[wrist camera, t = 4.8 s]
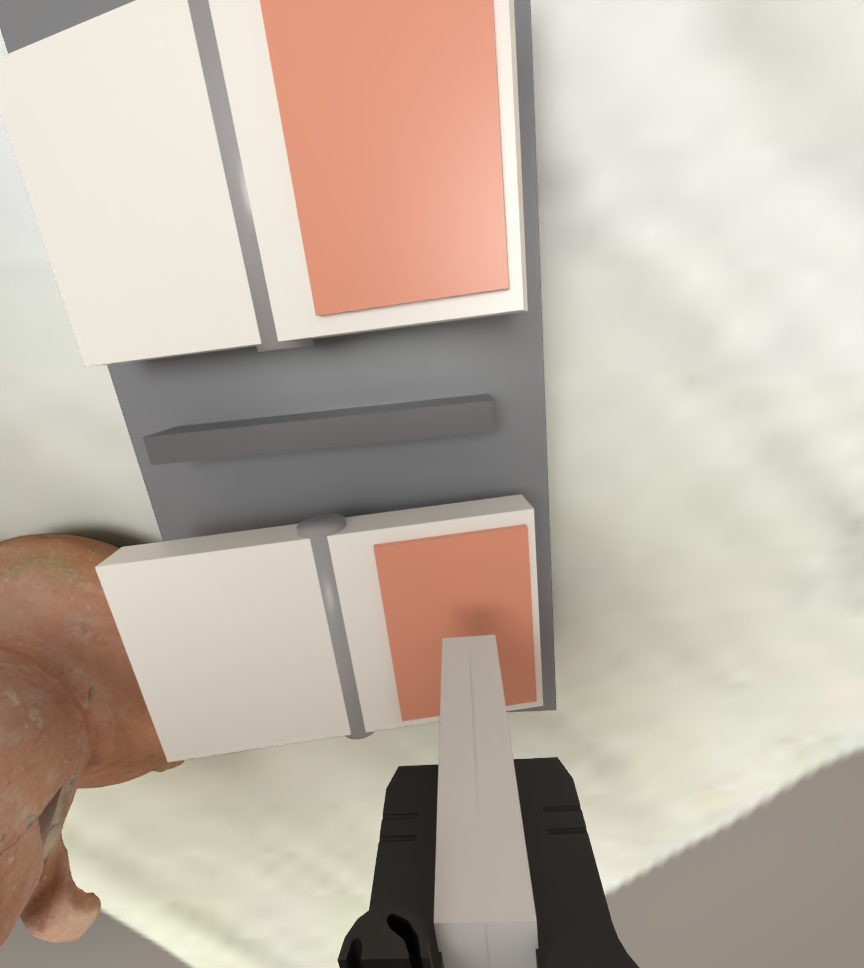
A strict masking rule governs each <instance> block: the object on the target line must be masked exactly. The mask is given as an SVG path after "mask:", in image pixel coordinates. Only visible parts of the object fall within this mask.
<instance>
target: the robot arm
mask: <svg viewBox="0 0 864 968" xmlns="http://www.w3.org/2000/svg"><path fill="white" fill-rule="evenodd" d="M338 963H339V967H340V968H639V967H638V966H637V964H636V963H635V962H634V961H633V960H632V958H631V957H630V956H629V955H628V954H627V952H626V950H625V949H624V947H623V946H622V944H621V942H620V940H619V939H618V937H617V934H616V931H615V929H614V926H613V923H612V921H611V917H610V913H609V910H608V906H607V902H606V898H605V895H604V891H603V887H602V884H601V880H600V876H599V873H598V869H597V865H596V862H595V858H594V854H593V850H592V847H591V843H590V839H589V836H588V833H587V830H586V825H585V821H584V817H583V814H582V810H581V808H580V803H579V799H578V795H577V792H576V788H575V784H574V781H573V778H572V777H571V775H570V774H569V773H568V771H567V770H566V769H565V767H564V766H563V764H562V763H561V762H560V760H559V759H558V757H554V758H533V759H513V754H512V747H511V740H510V733H509V726H508V719H507V712H506V705H505V698H504V692H503V685H502V678H501V671H500V664H499V657H498V650H497V643H496V636H495V635H483V636H468V637H453V638H442V667H441V700H440V733H439V764H438V765H417V766H399V767H398V769H397V770H396V772H395V774H394V776H393V778H392V780H391V781H390V783H389V785H388V787H387V789H386V795H385V802H384V809H383V820H382V823H381V830H380V842H379V844H378V851H377V858H376V865H375V872H374V879H373V886H372V893H371V900H370V907H369V911H368V912H366V913H365V914H364V915H362V916H361V917H360V918H358V919H357V921H356V922H355V923H354V925H353V926H352V928H351V929H350V931H349V932H348V934H347V935H346V937H345V939H344V942H343V945H342V948H341V951H340V954H339V957H338Z"/></svg>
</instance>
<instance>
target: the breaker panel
mask: <svg viewBox="0 0 864 968" xmlns="http://www.w3.org/2000/svg"><path fill="white" fill-rule="evenodd" d="M133 1H135V0H0V29H1V32H2V35H3V38H4V41H5V45H6V48H7V51H8V54H9V53H11V52H14V51H16V50H19V49H21V48H23V47H26V46H28V45H30V44H33V43H35V42H38V41H40V40H42V39H45V38H47V37H49V36H52V35H54V34H57V33H59V32H61V31H64V30H66V29H68V28H71V27H73V26H76V25H78V24H80V23H83V22H85V21H88V20H90V19H92V18H95V17H97V16H99V15H102V14H104V13H107V12H109V11H111V10H114V9H116V8H118V7H121V6H123V5H126V4H128V3H130V2H133ZM514 13H515V35H516V57H517V79H518V101H519V124H520V146H521V168H522V190H523V212H524V234H525V256H526V278H527V300H528V311H527V312H519V313H512V314H504V315H496V316H488V317H480V318H473V319H465V320H457V321H449V322H442V323H434V324H426V325H418V326H410V327H403V328H395V329H387V330H379V331H371V332H364V333H356V334H348V335H340V336H332V337H325V338H317V339H312V340H313V346H308V347H300V348H292V349H283V350H274V351H264V352H258V350H257V346H255V347H247V348H239V349H231V350H223V351H216V352H208V353H200V354H192V355H185V356H177V357H169V358H161V359H153V360H146V361H138V362H130V363H121V364H109V365H107V366H108V369H109V372H110V375H111V378H112V381H113V385H114V388H115V391H116V394H117V397H118V400H119V403H120V407H121V410H122V413H123V416H124V419H125V422H126V425H127V429H128V432H129V435H130V438H131V441H132V444H133V447H134V451H135V454H136V457H137V460H138V463H139V466H140V470H141V473H142V476H143V479H144V482H145V485H146V488H147V492H148V495H149V498H150V501H151V504H152V507H153V510H154V514H155V517H156V520H157V523H158V526H159V529H160V532H161V536H162V539H163V541H171V540H178V539H186V538H193V537H201V536H209V535H216V534H224V533H231V532H239V531H246V530H254V529H262V528H269V527H277V526H284V525H292V524H299V523H300V522H302V521H304V520H306V519H308V518H311V517H314V516H318V515H323V514H340V515H342V516H344V517H353V516H360V515H368V514H375V513H383V512H391V511H398V510H406V509H413V508H421V507H429V506H436V505H444V504H451V503H459V502H466V501H474V500H482V499H489V498H497V497H504V496H512V495H520V494H522V495H523V496H524V497H525V499H526V500H527V501H528V502H529V503H530V505H531V506H532V507H533V508H534V521H535V542H536V563H537V584H538V606H539V627H540V648H541V669H542V690H543V706H539V707H532V708H526V709H519V710H512V711H506V712H520V711H543V710H556V688H555V661H554V634H553V607H552V579H551V552H550V525H549V498H548V470H547V443H546V416H545V389H544V361H543V334H542V307H541V280H540V252H539V225H538V198H537V171H536V143H535V116H534V89H533V62H532V34H531V7H530V0H514Z"/></svg>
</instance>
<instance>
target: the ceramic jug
mask: <svg viewBox="0 0 864 968" xmlns="http://www.w3.org/2000/svg"><path fill="white" fill-rule="evenodd" d="M119 549H120V548H118V547H116V546H114V545H111V544H108V543H105V542H102V541H99V540H96V539H92V538H87V537H82V536H76V535H68V534H36V535H27V536H21V537H16V538H12V539H9V540H5V541H2V542H0V949H1V947H2V946H3V944H4V942H5V941H6V939H7V938H8V936H9V934H10V933H11V931H12V929H13V928H14V926H15V924H16V922H17V920H18V919H19V917H21V919H22V921H23V923H24V925H25V926H26V928H27V929H28V930H29V931H30V932H31V933H32V934H33V935H34V936H36V937H38V938H40V939H43V940H46V941H50V942H68V941H74V940H77V939H79V938H80V937H81V936H82V935H83V934H84V932H85V931H87V929H88V928H89V927H90V926H91V925H92V924H93V922H94V921H95V920H96V919H97V917H98V915H99V913H100V909H101V902H100V899H99V898H98V897H97V896H96V895H95V894H94V893H85V892H84V891H83V890H82V889H79V888H78V887H77V886H76V884H75V882H74V881H73V879H72V876H71V871H70V867H69V859H68V853H67V849H66V848H65V846H64V843H63V840H62V834H61V830H62V828H63V824H64V821H65V818H66V816H67V814H68V811H69V809H70V806H71V804H72V801H73V798H74V795H75V792H76V789H77V788H97V787H104V786H109V785H114V784H119V783H123V782H126V781H129V780H132V779H134V778H137V777H139V776H142V775H144V774H146V773H148V772H151V771H157V772H162V771H165V770H167V769H170V768H174V767H176V766H178V765H181V764H182V763H183V762H184V760H180V761H173V762H167V759H166V756H165V753H164V751H163V748H162V745H161V743H160V740H159V737H158V735H157V732H156V729H155V727H154V724H153V721H152V719H151V716H150V713H149V711H148V708H147V705H146V703H145V700H144V697H143V695H142V692H141V689H140V687H139V684H138V681H137V679H136V676H135V673H134V671H133V668H132V665H131V663H130V660H129V657H128V655H127V652H126V649H125V647H124V644H123V641H122V639H121V636H120V633H119V631H118V628H117V625H116V623H115V620H114V617H113V615H112V612H111V609H110V607H109V604H108V601H107V599H106V596H105V593H104V591H103V588H102V585H101V583H100V580H99V577H98V575H97V572H96V569H95V567H96V566H97V565H98V564H100V563H101V562H102V561H104V560H105V559H107V558H108V557H109V556H111V555H112V554H113V553H115V552H116V551H117V550H119Z"/></svg>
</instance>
